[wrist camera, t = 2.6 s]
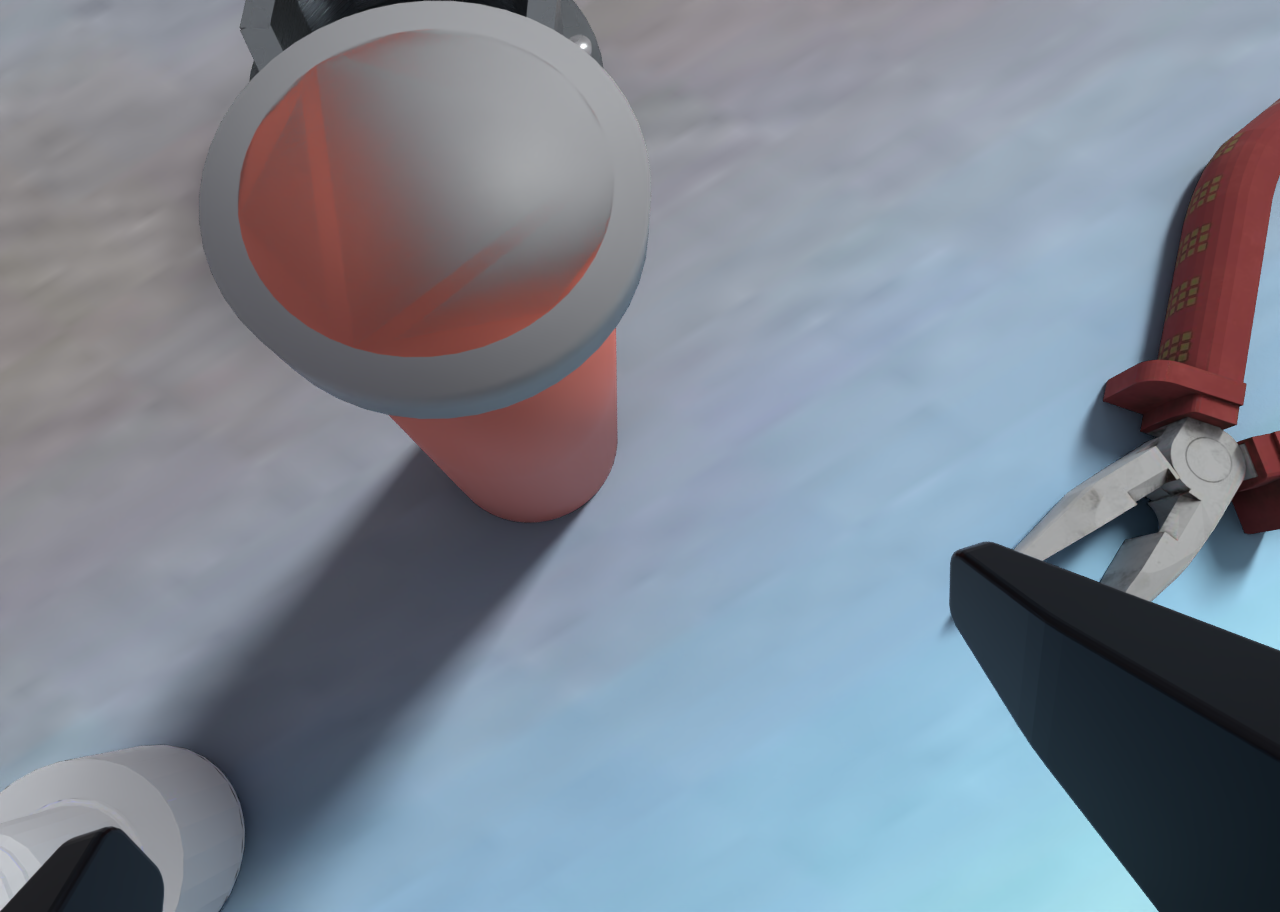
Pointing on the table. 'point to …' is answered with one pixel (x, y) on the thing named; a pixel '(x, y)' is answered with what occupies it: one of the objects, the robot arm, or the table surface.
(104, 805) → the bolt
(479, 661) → the table surface
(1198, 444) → the pliers
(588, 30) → the pipe socket
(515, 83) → the orange capped cylinder
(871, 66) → the table surface
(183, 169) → the table surface
